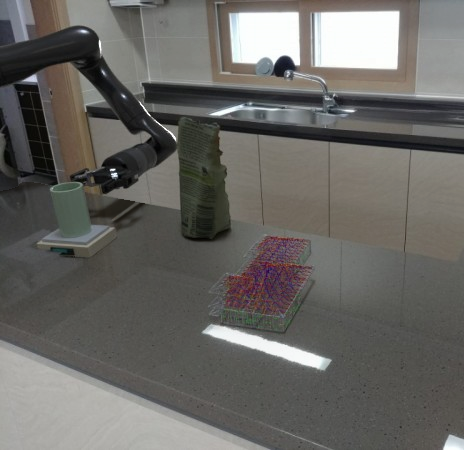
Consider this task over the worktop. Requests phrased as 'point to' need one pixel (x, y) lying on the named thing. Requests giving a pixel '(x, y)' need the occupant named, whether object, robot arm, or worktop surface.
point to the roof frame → (276, 267)
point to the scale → (79, 242)
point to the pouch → (201, 180)
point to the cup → (71, 209)
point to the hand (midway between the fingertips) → (85, 189)
